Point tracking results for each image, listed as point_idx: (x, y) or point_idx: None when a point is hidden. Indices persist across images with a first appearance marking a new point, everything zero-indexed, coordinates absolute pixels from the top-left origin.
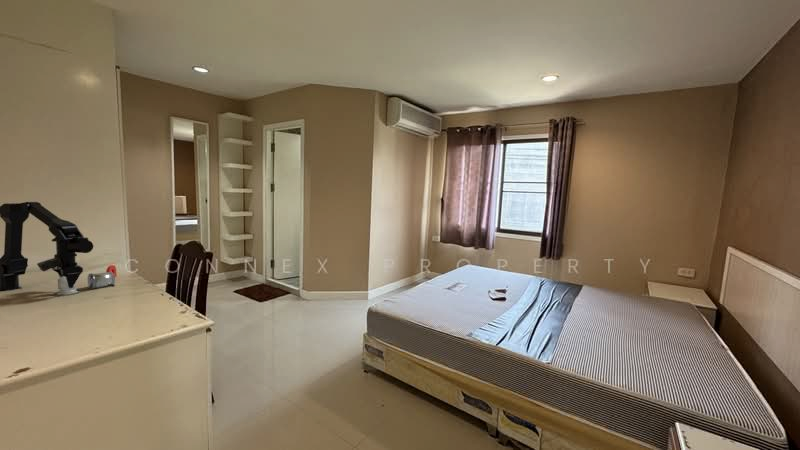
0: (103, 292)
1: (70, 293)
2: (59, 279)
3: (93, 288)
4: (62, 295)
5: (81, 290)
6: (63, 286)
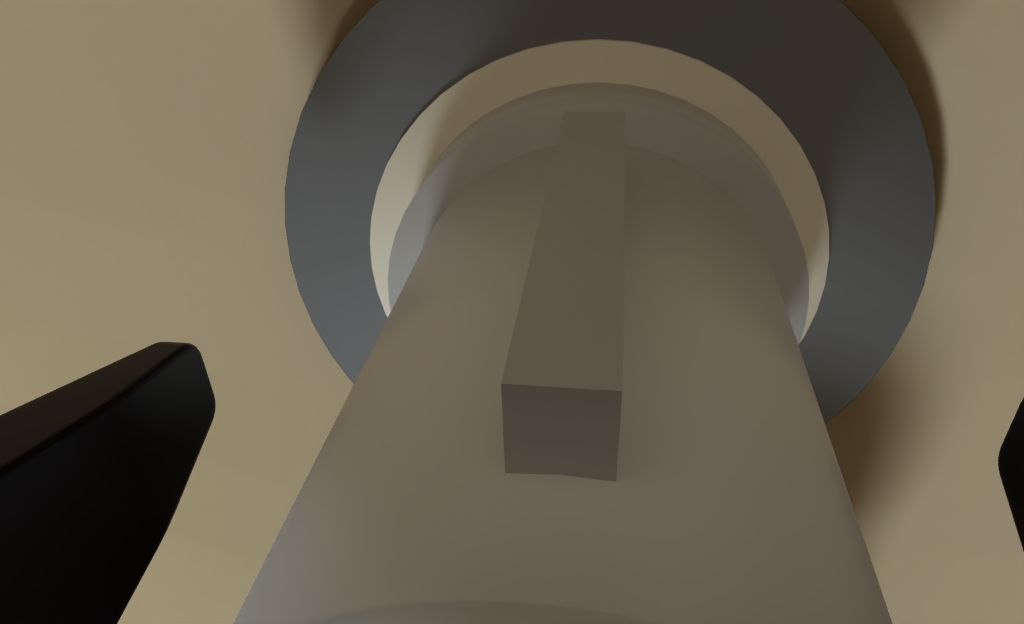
0: (156, 594)
1: (364, 269)
2: (515, 455)
3: None
4: (314, 91)
5: None
6: (420, 286)
